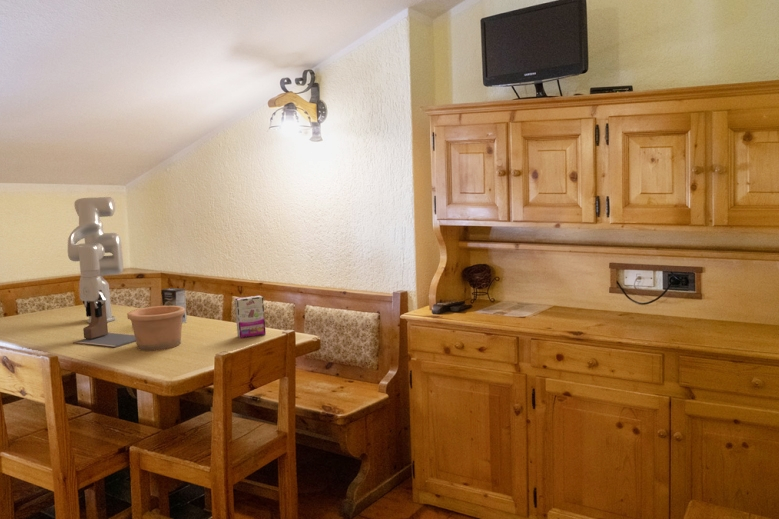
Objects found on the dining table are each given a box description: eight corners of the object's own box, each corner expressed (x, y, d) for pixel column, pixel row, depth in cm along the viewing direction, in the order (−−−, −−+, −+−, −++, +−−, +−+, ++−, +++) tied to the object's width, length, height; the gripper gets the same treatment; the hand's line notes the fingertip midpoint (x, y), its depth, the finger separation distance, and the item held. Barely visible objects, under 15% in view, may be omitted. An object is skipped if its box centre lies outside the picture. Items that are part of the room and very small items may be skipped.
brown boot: (91, 339, 269) (87, 297, 267) (83, 338, 271) (79, 296, 269) (108, 334, 277) (105, 293, 275) (101, 333, 279) (97, 292, 277)
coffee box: (163, 323, 301) (160, 289, 299) (173, 320, 307) (171, 287, 305) (177, 324, 297) (174, 290, 295) (187, 321, 303) (185, 288, 301)
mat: (73, 343, 268) (73, 341, 267) (108, 333, 284) (108, 332, 284) (114, 348, 257) (114, 346, 257) (148, 337, 273) (148, 336, 273)
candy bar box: (262, 332, 275) (260, 294, 273) (266, 334, 271) (263, 296, 269) (236, 336, 270) (234, 297, 268) (239, 338, 266) (237, 299, 264)
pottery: (131, 355, 244) (128, 318, 243) (129, 343, 264) (126, 309, 263) (190, 348, 253) (187, 312, 251) (184, 336, 273) (181, 303, 271)
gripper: (69, 274, 271) (73, 317, 274) (97, 276, 264) (101, 319, 266) (84, 272, 278) (88, 313, 280) (112, 273, 271) (115, 315, 273)
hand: (94, 316), depth 273 cm, fingers closed on brown boot, 4 cm apart
